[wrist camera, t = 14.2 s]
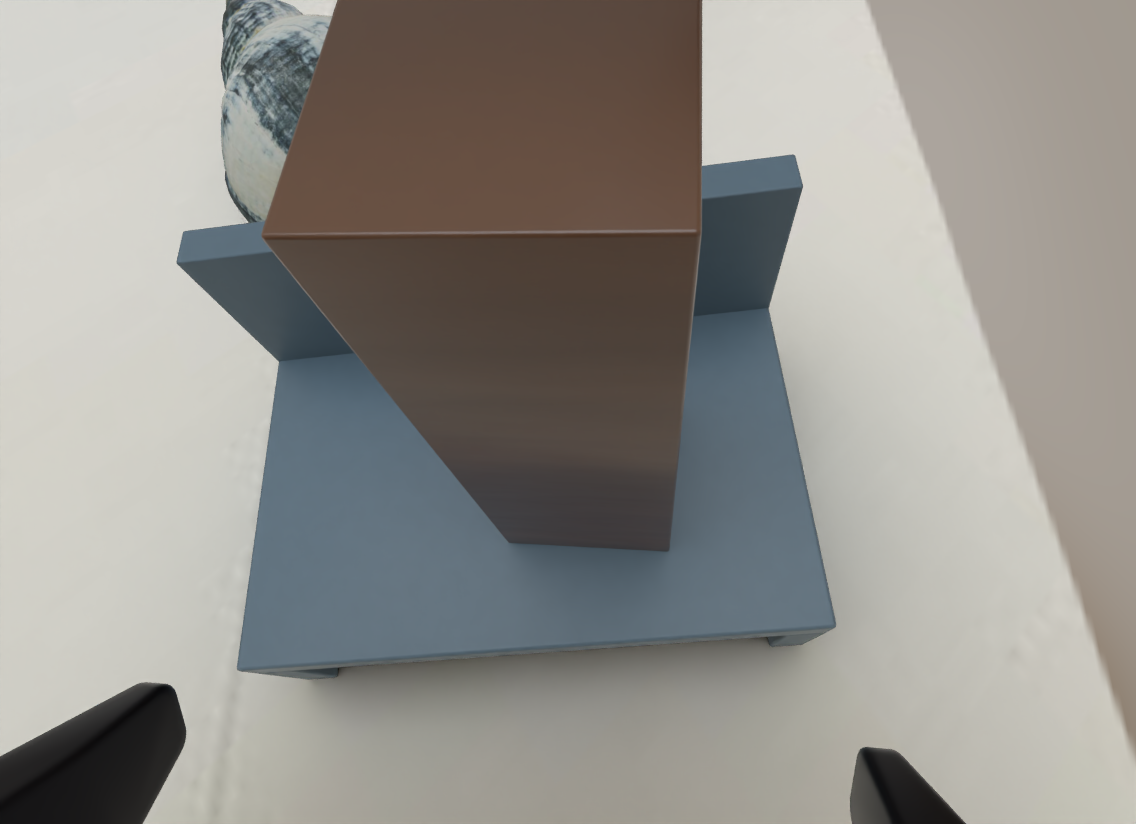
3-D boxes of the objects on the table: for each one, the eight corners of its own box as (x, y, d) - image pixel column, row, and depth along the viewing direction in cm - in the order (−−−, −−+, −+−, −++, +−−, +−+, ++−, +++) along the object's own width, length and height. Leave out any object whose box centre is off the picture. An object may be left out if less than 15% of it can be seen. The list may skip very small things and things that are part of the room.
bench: (804, 644, 20) (911, 591, 12) (307, 679, 21) (86, 654, 13) (746, 346, 24) (795, 153, 16) (335, 389, 25) (182, 230, 17)
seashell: (289, 314, 29) (324, 104, 33) (423, 256, 25) (441, 31, 30) (136, 233, 24) (203, 0, 28) (276, 146, 20) (326, -103, 25)
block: (668, 551, 17) (702, 234, 6) (507, 543, 18) (256, 235, 7) (672, 402, 19) (702, -67, 8) (524, 398, 20) (348, -44, 8)
